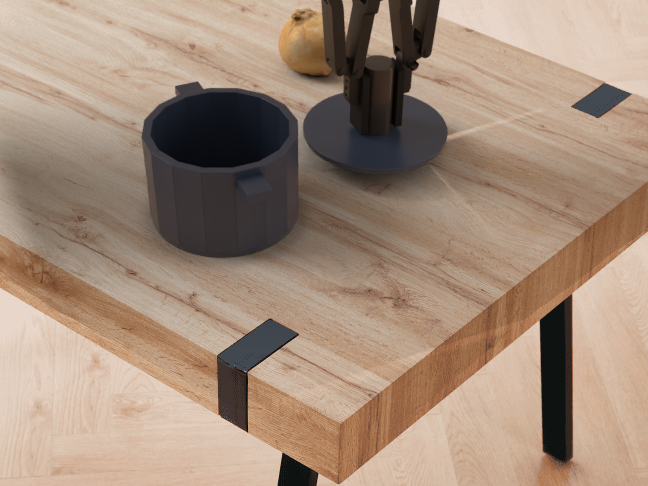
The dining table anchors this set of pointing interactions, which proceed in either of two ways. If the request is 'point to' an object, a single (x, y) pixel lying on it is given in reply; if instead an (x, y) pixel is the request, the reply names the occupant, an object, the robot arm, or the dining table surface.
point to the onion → (304, 43)
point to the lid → (376, 128)
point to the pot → (221, 170)
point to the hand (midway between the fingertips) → (375, 123)
